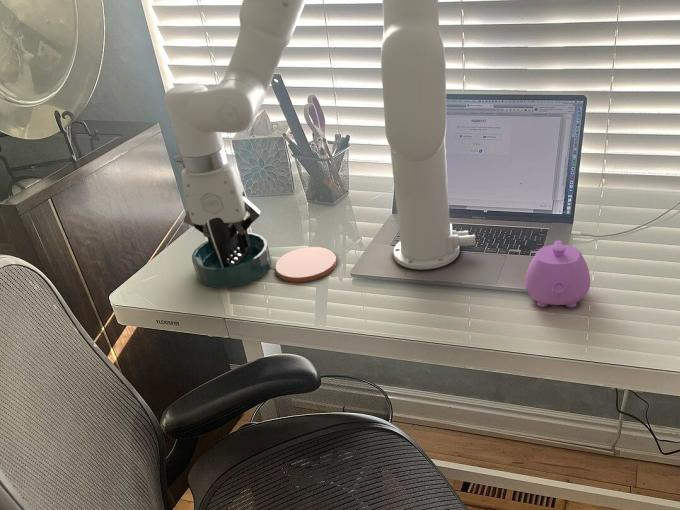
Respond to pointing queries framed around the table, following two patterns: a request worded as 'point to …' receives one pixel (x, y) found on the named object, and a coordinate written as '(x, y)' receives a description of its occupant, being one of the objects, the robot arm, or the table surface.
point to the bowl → (233, 275)
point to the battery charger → (224, 242)
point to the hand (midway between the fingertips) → (232, 250)
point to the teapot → (558, 276)
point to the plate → (305, 264)
